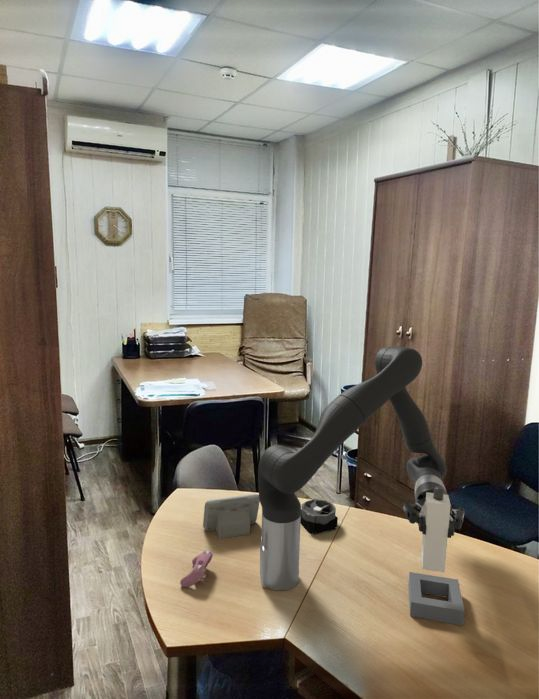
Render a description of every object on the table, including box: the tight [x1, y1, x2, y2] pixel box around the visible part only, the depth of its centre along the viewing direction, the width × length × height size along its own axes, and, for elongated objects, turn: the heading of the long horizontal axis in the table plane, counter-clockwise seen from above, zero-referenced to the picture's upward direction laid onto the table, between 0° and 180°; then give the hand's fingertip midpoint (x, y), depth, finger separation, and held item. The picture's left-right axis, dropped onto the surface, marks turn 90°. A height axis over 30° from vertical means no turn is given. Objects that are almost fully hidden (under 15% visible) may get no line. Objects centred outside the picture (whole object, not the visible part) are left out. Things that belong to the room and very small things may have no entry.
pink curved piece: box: [179, 549, 214, 588], centre depth 120 cm, size 10×5×7 cm, turn 169°
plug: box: [420, 486, 452, 573], centre depth 108 cm, size 5×5×18 cm
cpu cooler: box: [300, 498, 339, 535], centre depth 145 cm, size 10×6×10 cm
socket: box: [407, 571, 465, 627], centre depth 112 cm, size 11×11×4 cm
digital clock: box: [202, 493, 260, 539], centre depth 141 cm, size 16×9×11 cm, turn 97°
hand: (437, 532), depth 106 cm, fingers closed on plug, 4 cm apart
